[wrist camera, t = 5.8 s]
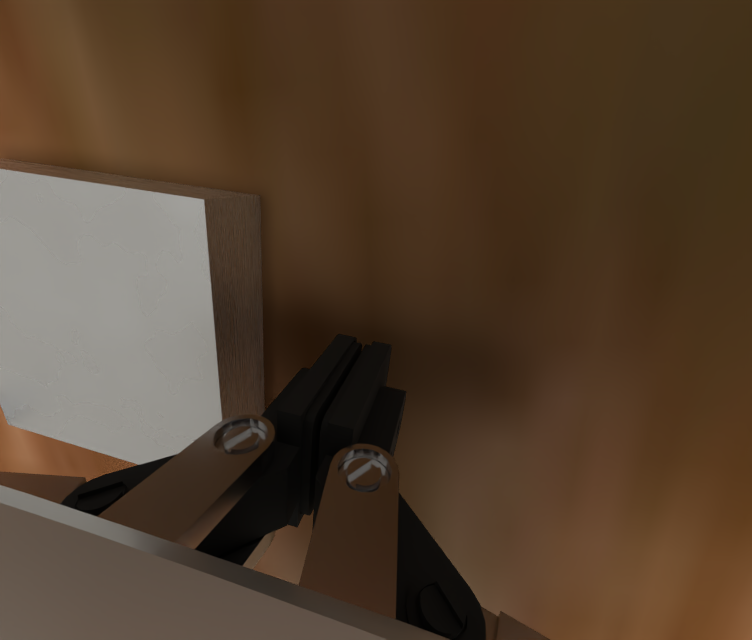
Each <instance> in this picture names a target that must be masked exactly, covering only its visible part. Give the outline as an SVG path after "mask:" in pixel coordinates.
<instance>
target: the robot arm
mask: <svg viewBox="0 0 752 640" xmlns="http://www.w3.org/2000/svg"><path fill="white" fill-rule="evenodd" d="M361 351H362V352H361ZM390 355H391V345H389V344H384V343H380V342H375V341H374V342H373V343H372V345H367V344H366V345H365V347H364V349H363V350H362V344H361V343H357V339H356V337H351V336H346V335H341V334H338V335H337V336H336V338H335V339H334V340H333V341H332V342H331V344H330V345H329V346H328V347H327V349H326V350H325V351H324V352H323V354H322V355H321V356H320V357H319V359H318V360H317V361H316V362H315V364H314V365H313V366H312V367H311V368H310V369H307V368H302V369H301V370H300V371H299V372H298V373H297V374H296V375H295V377H294V378H293V379H292V380H291V381H290V382H289V384H288V385H287V386H286V387H285V388H284V389H283V391H282V392H281V393H280V394H279V395H278V396H277V398H276V399H275V400H274V401H273V402H272V404H271V405H270V406H269V407H268V408H267V409H266V411H265V412H264V413H263V414H262V415H261V416H258V415H254V414H242V415H236V416H232V417H229V418H227V419H224V420H222V421H221V422H219V423H217V424H216V425H215V426H213V427H212V428H211V429H209V430H208V431H207V432H205V433H204V434H203V435H202V436H200V437H199V438H198V439H196V440H195V441H194V442H193V443H191V444H190V445H189V446H187V447H186V448H185V449H183V450H182V451H181V452H180V453H178V454H176V455H172V456H169V457H165V458H162V459H158V460H155V461H151V462H147V463H144V464H140V465H137V466H133V467H130V468H126V469H123V470H119V471H116V472H112V473H109V474H105V475H103V476H100V477H97V478H95V479H92V480H90V481H88V482H86V478H85V477H70V476H55V475H41V474H26V473H11V472H0V640H550V639H548V638H546V637H545V636H543V635H541V634H539V633H538V632H536V631H534V630H533V629H531V628H529V627H527V626H526V625H524V624H522V623H520V622H519V621H517V620H515V619H514V618H512V617H510V616H508V615H507V614H505V613H503V612H501V611H500V614H499V616H496V615H495V614H493V613H491V612H489V611H488V610H486V609H484V608H483V607H481V606H480V603H479V602H478V600H477V598H476V597H475V595H474V593H473V591H472V590H471V588H470V587H469V586H468V584H467V583H466V582H465V580H464V579H463V578H462V576H461V575H460V574H459V572H458V571H457V570H456V568H455V567H454V566H453V564H452V563H451V562H450V560H449V559H448V558H447V556H446V555H445V554H444V552H443V551H442V550H441V548H440V547H439V546H438V544H437V543H436V541H435V540H434V539H433V537H432V536H431V535H430V533H429V532H428V531H427V529H426V528H425V527H424V525H423V524H422V523H421V521H420V520H419V519H418V517H417V516H416V515H415V513H414V512H413V511H412V509H411V508H410V507H409V505H408V504H407V503H406V501H405V500H404V499H403V497H402V496H401V494H400V493H399V471H398V465H397V463H396V462H395V460H394V458H393V455H394V451H395V447H396V443H397V439H398V434H399V430H400V425H401V420H402V415H403V409H404V404H405V398H406V391H403V390H399V389H394V388H390V387H386V382H387V375H388V368H389V361H390ZM313 509H314V514H313V532H312V537H311V541H310V544H309V548H308V552H307V556H306V560H305V564H304V567H303V571H302V575H301V579H300V583H299V586H298V585H295V584H293V583H290V582H287V581H284V580H281V579H278V578H275V577H272V576H270V575H267V574H264V573H261V572H258V571H255V570H253V568H254V567H255V565H256V564H257V563H258V561H259V560H260V558H261V557H262V556H263V554H264V553H265V551H266V550H267V548H268V547H269V546H270V544H271V542H272V540H273V538H274V536H275V530H278V529H280V528H282V527H284V526H287V524H288V525H291V526H295V527H298V525H299V523H300V521H301V519H302V517H303V515H304V514H306V515H311V513H312V511H313Z"/></svg>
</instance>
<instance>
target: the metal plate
mask: <svg viewBox="0 0 752 640" xmlns="http://www.w3.org/2000/svg"><path fill="white" fill-rule="evenodd" d="M0 405H1V407H2V410H3V412H4V415H5V417H6V420H7V422H8V425H12V426H15V427H18V428H21V429H25V430H28V431H31V432H34V433H38V434H41V435H44V436H47V437H51V438H54V439H57V440H60V441H64V442H67V443H70V444H73V445H77V446H80V447H83V448H86V449H90V450H93V451H96V452H100V453H103V454H106V455H109V456H113V457H116V458H119V459H122V460H126V461H129V462H132V463H135V464H139V465H140V464H144V463H147V462H151V461H155V460H158V459H162V458H165V457H169V456H172V455H176V454H178V453H180V452H181V451H182V450H183V449H185V448H186V447H187V446H189V445H190V444H191V443H193V442H194V441H195V440H196V439H198V438H199V437H200V436H202V435H203V434H204V433H205V432H207V431H208V430H209V429H211V428H212V427H213V426H215V425H216V424H217V423H219V422H221V421H222V420H224V419H227V418H229V417H232V416H236V415H242V414H254V415H258V416H261V415H262V414H263V413H264V412H265V404H264V356H263V309H262V261H261V214H260V195H254V194H247V193H240V192H233V191H226V190H219V189H212V188H205V187H198V186H191V185H184V184H177V183H170V182H163V181H156V180H149V179H143V178H136V177H129V176H122V175H115V174H108V173H101V172H94V171H87V170H80V169H73V168H66V167H59V166H52V165H45V164H38V163H31V162H24V161H17V160H10V159H0Z"/></svg>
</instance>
